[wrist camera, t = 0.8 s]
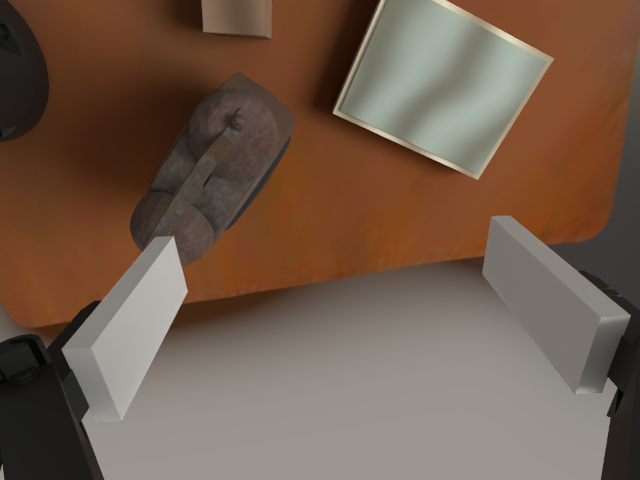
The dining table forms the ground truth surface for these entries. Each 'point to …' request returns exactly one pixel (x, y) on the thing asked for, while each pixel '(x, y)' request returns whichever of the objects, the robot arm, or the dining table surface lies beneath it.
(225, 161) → the alarm clock
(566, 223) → the dining table surface
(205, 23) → the walnut block
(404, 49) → the picture frame
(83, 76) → the dining table surface
